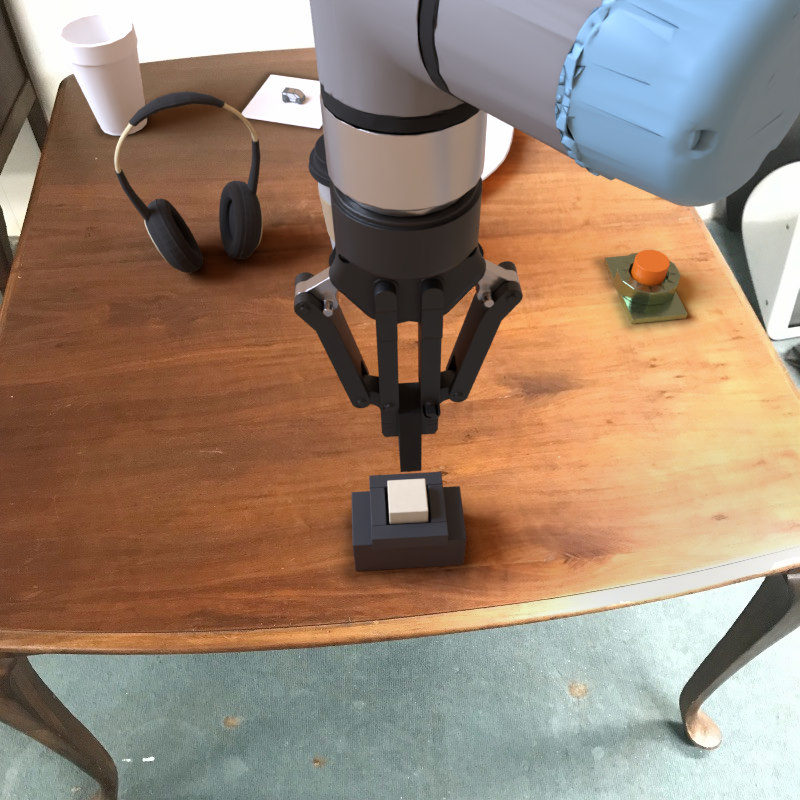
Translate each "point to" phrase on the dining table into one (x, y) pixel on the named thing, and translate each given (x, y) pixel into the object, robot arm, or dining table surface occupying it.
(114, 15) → the foam cup
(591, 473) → the dining table surface
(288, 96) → the white square card
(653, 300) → the switch block
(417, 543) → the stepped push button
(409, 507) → the key
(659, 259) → the round orange push button
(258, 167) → the headphones
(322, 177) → the coffee cup
